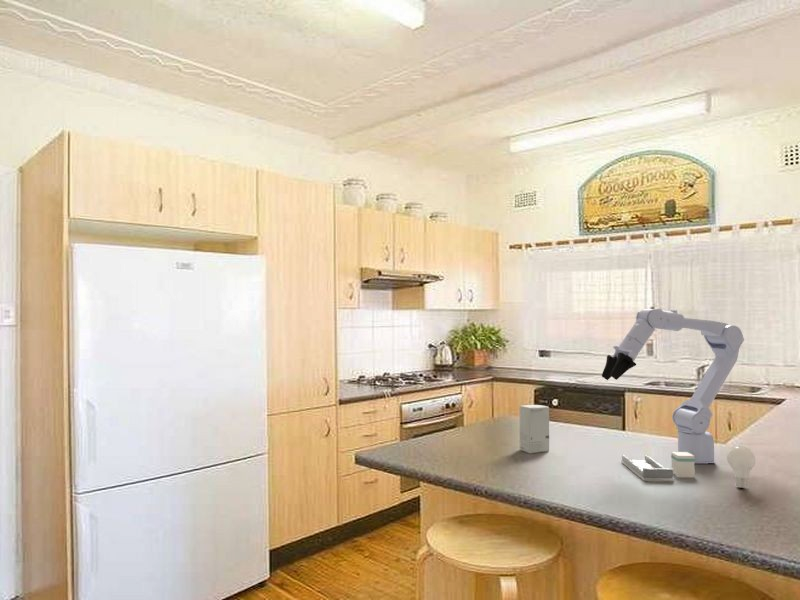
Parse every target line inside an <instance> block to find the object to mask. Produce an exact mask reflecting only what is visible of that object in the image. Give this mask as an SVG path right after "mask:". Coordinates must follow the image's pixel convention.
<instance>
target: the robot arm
mask: <svg viewBox="0 0 800 600" xmlns="http://www.w3.org/2000/svg"><path fill="white" fill-rule="evenodd" d="M683 328H684V329H689V330H693V331H694V330H695V331H699V332H700V335H701V336H703V338H704V339H705V341H706V343H707V345H708V346H709V348H710V349H711V351H712V352H713V353H714V359H713V361H712V362H711V364H710V366H709V367H708V369H707V371H706V373H705V374H704V376H703V378H701V381H700V382H699V384H698V386H697V387H696V389H695V391H694V392H693V394H692V396H691V397H690V398H689V399H687V400H684V401H682V403H681V404H680V405H679V407H676V408H675V409H674V411H673V413H672V415H671V417H672V422H673V424H674V425H675V426H676V430H677V452H688V453H690V454H692V455H694V459H695V462H694V464H708V463H715V464H716V461H715V441H714V437H713V434H712V433H711V432H709V431H707V430H708V429H709V427H710V422H711V419H712V417H713V413H712V411H711V409H710V407H711V405H712V403H713V402H714V400H715V398H716V396H717V395H718V393H719V391H720V390H721V388H722V387H723V385H724V384H725V381H726V380H727V378H728V377H729V374H730V372H731V371H732V369H733V367H735V364H736V363H737V361H738V357H739V352H740V348H741V346H742V344H743V343H744V341H745V338H744V335H743V332H742V330H741V328H740V327H739V326H737V325H733V324H731V325H729V324H728V323H725V322H720V321H715V320H708V319H698V318H689V317H688V318H687V317H685V316H684V315H683V313H681V312H678V310H677V309H676V310H675V309H672V310H669V311H668V310H663V309H662V308H644V309H642V310H640V311H638V312H637V313H636V315H635V322H634V324H633V325H632V327H631V328H630V330H629V331H628V332H627V334H626V336H625V337H624V339H622V340H621V342H620V344H619V345H618V346H617V345H614V346H612V347H613V349H614V350H615V351H614V353H613V355H610V354H608V355H607V356H606V363H605V366H604V368H603V371H602V373H601V377H602V378H604V379H605V380H606V381H608V380H610V379H611V378H613V379H614V380H619V378H620V377H622V376H623V375H624V374H625V373H626V372H627V371H629V370H630V369H632V368H633V367H635V366H637V363H636V362H635V361H636V358H637V357H638V355H639V354H640V352H641V351H642V349H643V348H644V346H645V345H646V343H647V342H648V340H649V339H650V338H651V336H652V335H653V333H654V331H655V330H656V329H658V330H663V331H664V330H667V331H674V332H679V331H681V330H682V329H683Z"/></svg>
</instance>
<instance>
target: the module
mask: <svg viewBox="0 0 800 600" xmlns="http://www.w3.org/2000/svg"><path fill="white" fill-rule="evenodd" d="M670 457H671V469H673V475H674V474H675V475H674V476H676V477H677V476H678V477H677V478H695V475H696V473H695V463H694V462H695V459H694V455H692V454H690V453H688V452H678V451H671V456H670ZM683 476H684V477H683ZM692 476H693V477H692Z"/></svg>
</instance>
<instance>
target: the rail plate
mask: <svg viewBox="0 0 800 600" xmlns="http://www.w3.org/2000/svg"><path fill="white" fill-rule="evenodd" d="M621 457H622V458H621V463H622V465H624V466H625V467H626V468H628V469H629V470H630V471H631V472H632V473H634V474H635V475H636V476H637V477H638V478H640V479H641V481H643V482H675V478H674V474H673V469H672V467H670V468H669V467H668V468H667V467H665V466H663V465H662V464H661V463H659V462H658V461H656V459H653V458H652V457H651V456H649V455H647V454H645V455H644V459H630V458H629V457H628V456H627V455H625V454H622V455H621Z"/></svg>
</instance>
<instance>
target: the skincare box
mask: <svg viewBox="0 0 800 600" xmlns="http://www.w3.org/2000/svg"><path fill="white" fill-rule="evenodd" d="M518 407H519V450H520V451H523V452H525V453H527V454H536V453H541V452H542V453H543V452H550V407H549V406H547V405H541V404H527V405H526V404H524V405H523V404H522V405H519V406H518Z"/></svg>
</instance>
